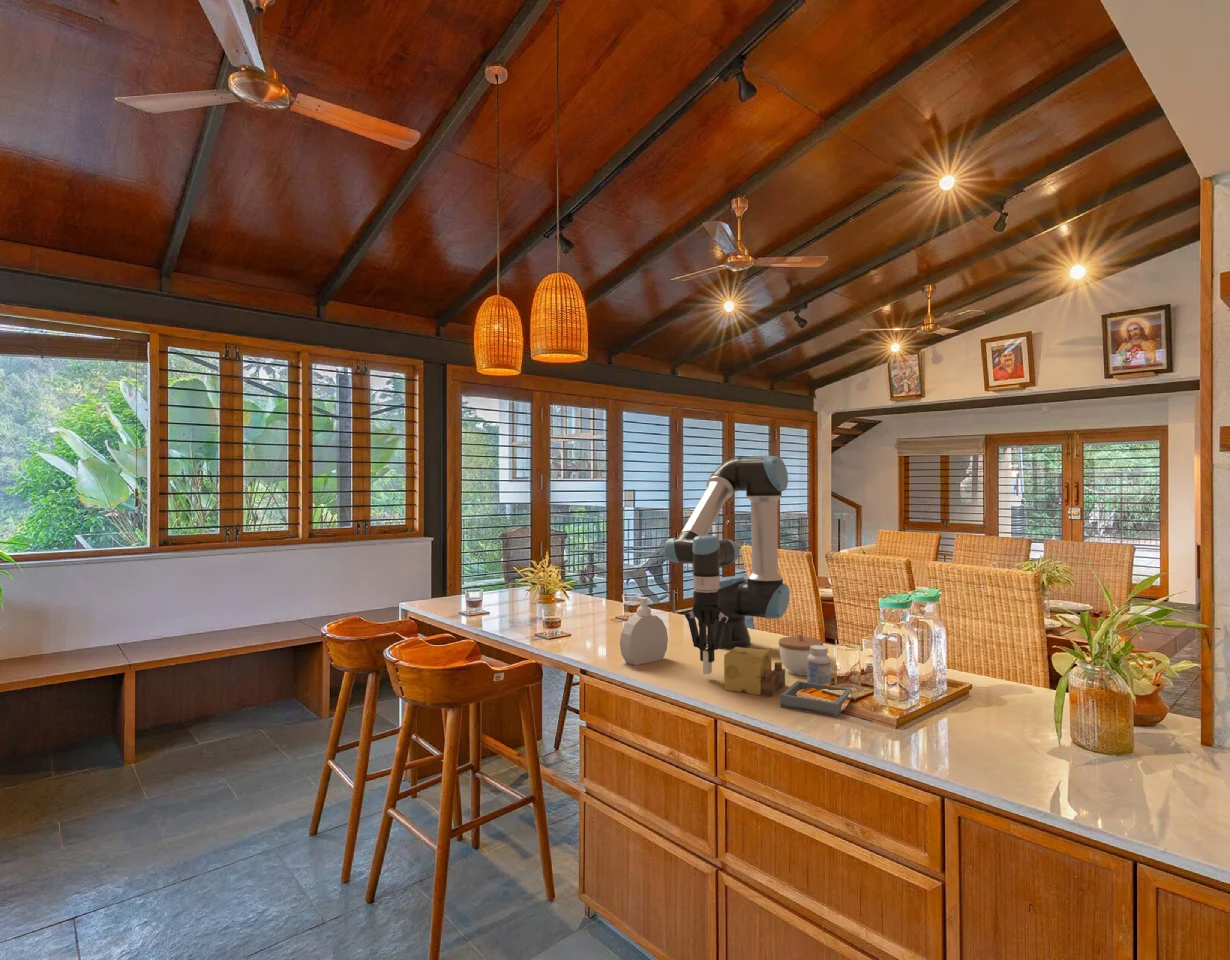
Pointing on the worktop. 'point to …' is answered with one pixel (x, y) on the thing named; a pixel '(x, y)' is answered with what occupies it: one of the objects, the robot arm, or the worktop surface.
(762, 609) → the robot arm
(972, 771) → the worktop surface
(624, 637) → the soap bottle
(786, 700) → the tray
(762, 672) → the cheese
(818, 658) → the pill bottle
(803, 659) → the lidded bowl
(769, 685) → the stop rail
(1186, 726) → the worktop surface
